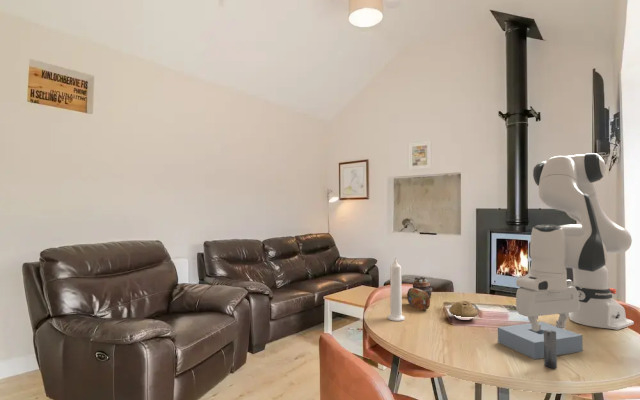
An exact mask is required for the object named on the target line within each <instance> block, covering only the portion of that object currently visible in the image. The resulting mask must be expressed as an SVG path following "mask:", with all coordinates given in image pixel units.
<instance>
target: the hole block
mask: <svg viewBox="0 0 640 400" xmlns="http://www.w3.org/2000/svg"><path fill="white" fill-rule="evenodd" d="M537 322H538V324H539V325H541V331H537V332H536V331H533V330H532V325H531V322H529V323H522V324H520V323H519V324H513V325H507V326H506V325H505V326H498V327H497V342H498V343H499V344H501V345H503V346H505V347H508V348H510V349H512V350H514V351H515V352H517V353H520V354H522V355H525V356H527V357H528V358H530V359H533V360H538V359H539V360H540V359H544V330H552V331H555V332H556V347H557V356H561V355H568V354H573V353H574V354H575V353H579V352H583V351H584V350H583V349H584V347H583V345H584V344H583V338H584V337H583V335H582V334H580V333H577V332H574V331H571V330H568V329H566V328H558V327H557V326H556V325H554V324H550V323H548V322H545V321H537Z"/></svg>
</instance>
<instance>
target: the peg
mask: <svg viewBox="0 0 640 400" xmlns="http://www.w3.org/2000/svg"><path fill="white" fill-rule="evenodd" d="M557 359H558V355H557V347H556V332H555V331H552V330H544V358H543V361H544V362H543V364H544V365H543V366H544V367H545V368H547V369H550V370H556V369H557V370H558V360H557Z"/></svg>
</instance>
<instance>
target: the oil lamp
mask: <svg viewBox="0 0 640 400" xmlns="http://www.w3.org/2000/svg"><path fill="white" fill-rule="evenodd" d="M448 311H449V313H450V314H451V315H452V314H453V315H456V316H461V317H474V318H475V317H477V316H478V314H479V312H478V310H477V308H476V307H474V306H473V305H472V303H471V302H470V301H468V300H467V301H466V300H463V301H462V300H461V301H456V302H454V303H452V305H451V306H450V307H449V308H448ZM453 315H452V316H453Z"/></svg>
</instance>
